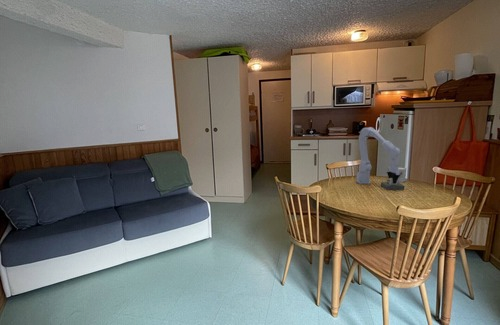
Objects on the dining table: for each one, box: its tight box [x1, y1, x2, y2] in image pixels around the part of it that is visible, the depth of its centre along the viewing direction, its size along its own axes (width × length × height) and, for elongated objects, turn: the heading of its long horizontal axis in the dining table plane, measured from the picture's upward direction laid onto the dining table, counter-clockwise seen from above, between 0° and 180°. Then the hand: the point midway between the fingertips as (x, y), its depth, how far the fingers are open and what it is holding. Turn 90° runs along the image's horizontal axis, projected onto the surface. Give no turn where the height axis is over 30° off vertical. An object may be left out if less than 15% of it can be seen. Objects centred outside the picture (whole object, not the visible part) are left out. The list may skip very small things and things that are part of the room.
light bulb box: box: [397, 166, 407, 183], centre depth 220 cm, size 11×7×11 cm, turn 43°
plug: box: [386, 177, 397, 185], centre depth 201 cm, size 6×4×6 cm, turn 86°
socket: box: [380, 181, 405, 191], centre depth 201 cm, size 12×11×3 cm
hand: (392, 182), depth 201 cm, fingers open, 5 cm apart
